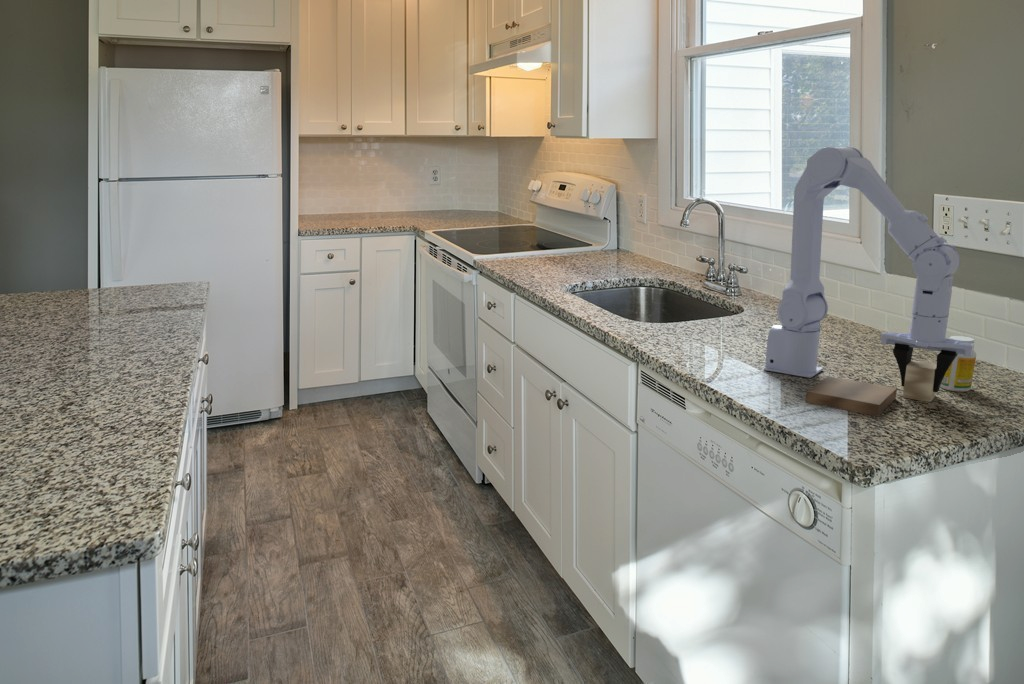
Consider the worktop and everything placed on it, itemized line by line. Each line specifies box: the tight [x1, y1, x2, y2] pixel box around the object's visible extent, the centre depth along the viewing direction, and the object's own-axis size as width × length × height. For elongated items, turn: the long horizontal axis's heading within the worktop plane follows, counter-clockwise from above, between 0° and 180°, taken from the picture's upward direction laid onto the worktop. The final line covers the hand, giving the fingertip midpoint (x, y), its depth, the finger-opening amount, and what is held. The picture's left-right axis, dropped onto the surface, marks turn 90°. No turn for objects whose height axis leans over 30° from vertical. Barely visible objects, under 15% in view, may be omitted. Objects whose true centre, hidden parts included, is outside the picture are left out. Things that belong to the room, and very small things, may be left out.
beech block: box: [902, 359, 937, 403], centre depth 140 cm, size 4×4×6 cm
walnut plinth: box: [805, 376, 898, 417], centre depth 138 cm, size 12×12×2 cm
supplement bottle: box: [940, 335, 977, 393], centre depth 145 cm, size 5×5×10 cm
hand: (920, 388), depth 140 cm, fingers closed on beech block, 4 cm apart
